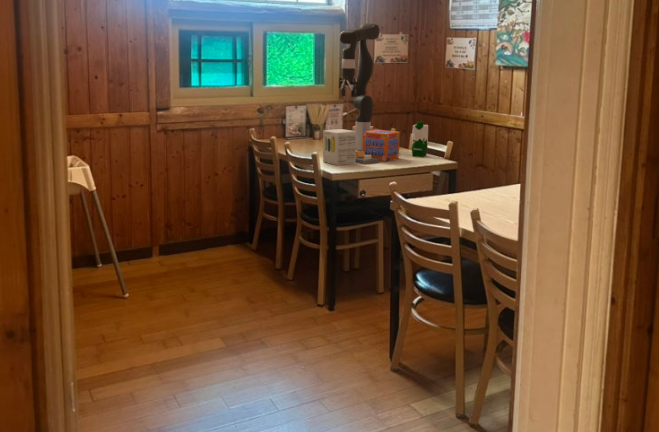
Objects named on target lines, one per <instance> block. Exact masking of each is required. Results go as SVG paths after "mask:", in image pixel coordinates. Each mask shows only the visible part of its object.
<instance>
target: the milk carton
mask: <svg viewBox="0 0 659 432" xmlns="http://www.w3.org/2000/svg"><path fill="white" fill-rule="evenodd" d="M415 123H416V124H414V125H412V130H411V131H412V132H411V157H418V158H419V157H420V158H425V157H426V156H427V152H428V145H429V143H428V142H429V140H428V138H429V125H428V124H424V121H416V122H415Z"/></svg>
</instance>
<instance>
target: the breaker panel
mask: <svg viewBox="0 0 659 432" xmlns="http://www.w3.org/2000/svg"><path fill="white" fill-rule="evenodd" d="M376 163H377V164H378V163H380V161H379V159H378V158H372V157H371V155H364V157H356V163H355V164H360V165H369V164H376Z"/></svg>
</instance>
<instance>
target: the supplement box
mask: <svg viewBox="0 0 659 432" xmlns="http://www.w3.org/2000/svg"><path fill="white" fill-rule="evenodd" d="M322 132H323V134H322V135H323V136H322V140H323V142H322V147H323V148H322V150H323V153H322V154H323V155H322V162H323V163H325V162H327V163H326V164H330V163H331V165H335V166H341V165H351V164H357V163H356V152H357V150H356V131H353V130H348V129H343V128H340V129H339V128H338V129H326V130H323V131H322Z"/></svg>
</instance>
